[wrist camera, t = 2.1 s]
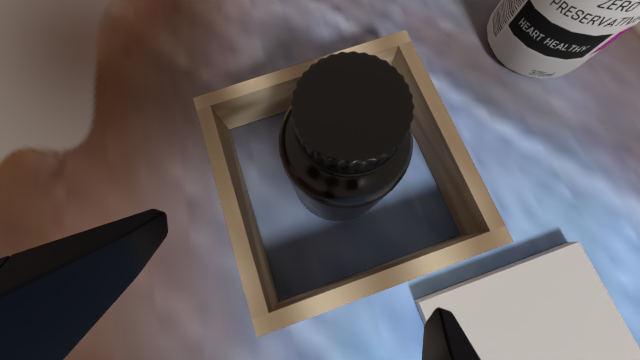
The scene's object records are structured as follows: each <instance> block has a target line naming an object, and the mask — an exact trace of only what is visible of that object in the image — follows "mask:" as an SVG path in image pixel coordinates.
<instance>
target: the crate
mask: <svg viewBox="0 0 640 360" xmlns="http://www.w3.org/2000/svg"><path fill="white" fill-rule="evenodd" d="M351 51H355V52H358V53H362V52H365V53H368V54H369V55H376V56H378V57H379V58H380V59H382V60H386V61H387V62H388V63H389V64H390V65H391V66H394V67H396V69H397V71H398V72H399V73H400V74H402V75H403V77H404V80H405V82H406V83H408V85H409V90H410V92H411V93H412V95H413V99H412V102H413V104H414V106H415V107H414V110H413V116H414V119H413V121H412V123H411V124H410V125H411V130H412V132H413V134H414V136H415V138H416V140H417V142H418V145H419V147H420V149H421V151H422V153H423V155H424V157H425V160H426V162H427V164H428V166H429V168H430V170H431V172H432V175H433V177H434V179H435V181H436V183H437V185H438V188H439V190H440V192H441V194H442V196H443V198H444V200H445V203H446V205H447V207H448V209H449V211H450V213H451V215H452V218H453V220H454V222H455V224H456V226H457V228H458V230H459V233H460V236H457V237H455V238H452V239H449V240H446V241H444V242H441V243H438V244H436V245H433V246H430V247H427V248H425V249H422V250H419V251H417V252H414V253H411V254H408V255H406V256H403V257H400V258H398V259H395V260H392V261H389V262H387V263H384V264H381V265H379V266H376V267H373V268H370V269H368V270H365V271H362V272H360V273H357V274H354V275H351V276H349V277H346V278H343V279H341V280H338V281H335V282H332V283H330V284H327V285H324V286H322V287H319V288H316V289H313V290H311V291H308V292H305V293H303V294H300V295H297V296H294V297H292V298H289V299H286V300H284V301H281V302H280V301H279V298H278V294H277V291H276V287H275V284H274V281H273V277H272V274H271V270H270V267H269V264H268V260H267V257H266V253H265V250H264V246H263V243H262V240H261V236H260V233H259V229H258V226H257V223H256V219H255V216H254V212H253V209H252V205H251V202H250V199H249V195H248V192H247V188H246V185H245V182H244V178H243V175H242V171H241V168H240V164H239V161H238V158H237V154H236V151H235V147H234V144H233V141H232V137H231V134H230V129H233V128H236V127H239V126H242V125H245V124H248V123H251V122H254V121H257V120H260V119H263V118H266V117H269V116H272V115H275V114H278V113H281V112H284V111H288V109H289V107H290V106H291V101H292V99H293V91H294V89H295V88H296V84H297V81H298V80H299V79H301V78H302V74H303V72H305V71H307V70H308V69H309V67H310V66H311V65H312V64H314V63H317V62H318V60H319V59H321V58H326V57H327V56H329V55H330V54H329V55H325V56H322V57H319V58H316V59H313V60H310V61H307V62H304V63H300V64H297V65H294V66H291V67H288V68H285V69H282V70H278V71H275V72H272V73H269V74H266V75H263V76H260V77H257V78H253V79H250V80H247V81H244V82H241V83H238V84H235V85H231V86H228V87H225V88H222V89H219V90H216V91H213V92H210V93H206V94H203V95H200V96H197V97H194V98H193V100H194V104H195V107H196V111H197V115H198V119H199V122H200V126H201V130H202V134H203V138H204V141H205V145H206V149H207V153H208V156H209V160H210V164H211V168H212V171H213V175H214V179H215V183H216V186H217V190H218V194H219V198H220V201H221V205H222V209H223V213H224V216H225V220H226V224H227V228H228V232H229V235H230V239H231V243H232V247H233V250H234V254H235V258H236V262H237V265H238V269H239V273H240V277H241V280H242V284H243V288H244V292H245V295H246V299H247V303H248V307H249V310H250V314H251V318H252V322H253V325H254V329H255V333H256V337H260V336H263V335H265V334H268V333H271V332H273V331H276V330H279V329H281V328H284V327H287V326H289V325H292V324H295V323H297V322H300V321H303V320H305V319H308V318H311V317H313V316H316V315H319V314H321V313H324V312H327V311H329V310H332V309H335V308H337V307H340V306H343V305H345V304H348V303H351V302H353V301H356V300H359V299H361V298H364V297H367V296H369V295H372V294H375V293H377V292H380V291H383V290H385V289H388V288H391V287H394V286H396V285H399V284H402V283H404V282H407V281H410V280H412V279H415V278H418V277H420V276H423V275H426V274H428V273H431V272H434V271H436V270H439V269H442V268H444V267H447V266H450V265H452V264H455V263H458V262H460V261H463V260H466V259H468V258H471V257H474V256H476V255H479V254H482V253H484V252H487V251H490V250H492V249H495V248H498V247H500V246H503V245H506V244H508V243H511V242H514V241H513V239H512V237H511V235H510V233H509V231H508V230H507V228H506V226H505V224H504V222H503V220H502V218H501V216H500V214H499V212H498V210H497V208H496V206H495V204H494V202H493V200H492V198H491V196H490V194H489V192H488V190H487V188H486V186H485V184H484V182H483V180H482V178H481V177H480V175H479V173H478V171H477V169H476V167H475V165H474V163H473V161H472V159H471V157H470V155H469V153H468V151H467V149H466V147H465V145H464V143H463V141H462V139H461V137H460V135H459V133H458V131H457V129H456V127H455V125H454V124H453V122H452V120H451V118H450V116H449V114H448V112H447V110H446V108H445V106H444V104H443V102H442V100H441V98H440V96H439V94H438V92H437V90H436V88H435V86H434V84H433V82H432V80H431V78H430V76H429V74H428V73H427V71H426V69H425V67H424V65H423V63H422V61H421V59H420V57H419V55H418V53H417V51H416V49H415V47H414V45H413V43H412V41H411V39H410V37H409V35H408V33H407V31H406V30H404V31H401V32H398V33H394V34H391V35H388V36H385V37H382V38H379V39H376V40H372V41H369V42H366V43H363V44H360V45H357V46H354V47H351V48H347V49H344V50H341V51H338V52H335V53H332V54H338V53H340V52H347V53H348V52H351Z"/></svg>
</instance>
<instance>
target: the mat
mask: <svg viewBox="0 0 640 360" xmlns="http://www.w3.org/2000/svg"><path fill="white" fill-rule="evenodd" d="M415 302H416V305H417V307H418V310H419V312H420V315H421V317H422V320H423V322H424V325H425V323H426V321H427V320H428V318H429V317H430V316H431V314H432V313H433V311H434V310H435V309H436V308H437V307H440V308H443V309H446V310H449V311H451V312H452V313H453V314H454V316H455V318H456V319H457V321H458V323H459V324H460V326H461V328H462V329H463V331H464V333H465V334H466V336H467V338H468V339H469V341H470V342H471V344H472V346H473V347H474V349H475V351H476V352H477V354H478V356H479V357H480V359H481V360H640V348H639V347H638V345H637V343H636V341H635V339H634V338H633V336H632V334H631V332H630V331H629V329H628V327H627V325H626V324H625V322H624V320H623V318H622V317H621V315H620V313H619V311H618V309H617V308H616V306H615V304H614V302H613V301H612V299H611V297H610V295H609V294H608V292H607V290H606V288H605V286H604V285H603V283H602V281H601V279H600V278H599V276H598V274H597V272H596V271H595V269H594V267H593V265H592V263H591V262H590V260H589V258H588V256H587V255H586V253H585V251H584V249H583V248H582V246H581V244H580V242H567V243H564V244H562V245H559V246H557V247H554V248H551V249H549V250H546V251H543V252H541V253H538V254H535V255H533V256H530V257H527V258H525V259H522V260H520V261H517V262H514V263H512V264H509V265H506V266H504V267H501V268H498V269H496V270H493V271H491V272H488V273H485V274H483V275H480V276H477V277H475V278H472V279H469V280H467V281H464V282H462V283H459V284H456V285H454V286H451V287H448V288H446V289H443V290H440V291H438V292H435V293H433V294H430V295H427V296H425V297H422V298H419V299H417V300H415Z"/></svg>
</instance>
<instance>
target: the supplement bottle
mask: <svg viewBox="0 0 640 360" xmlns="http://www.w3.org/2000/svg"><path fill="white" fill-rule="evenodd" d="M412 99H413V95H412V93H411V92H410V90H409V85H408V83H406V82H405V80H404V77H403V75H402V74H400V73H399V72H398V71H397V69H396V67H394V66H391V65H390V64H389V63H388V62H387V61H386V60H382V59H380V58H379V57H378V56H376V55H369V54H368V53H365V52H362V53H358V52H355V51H351V52H348V53H347V52H340V53H338V54H330V55H329V56H327V57H326V58H321V59H319V60H318V62H317V63H314V64H312V65H311V66H310V67H309V69H308V70H307V71H305V72H303V74H302V78H301V79H299V80H298V81H297V84H296V88H295V89H294V91H293V99H292V101H291V106H290V107H289V109H288V111H287V112H286V114H285V116H284V118H283V121H282V124H281V128H280V133H279V152H280V157H281V160H282V164H283V166H284V169H285V171H286V173H287V175H288V177H289V179H290V182H291V184H292V186H293V188H294V190H295V192H296V194H297V196H298V197H299V199H300V201H301V202H302V203H303V205H304V206H305V207H306V208H307V209H308V210H309V211H311V212H312V213H313V214H315V215H317V216H318V217H321V218H323V219H326V220H330V221H347V220H351V219H355V218H357V217H359V216H361V215H363V214H364V213H366V212H367V211H369V210H370V209H371V208H372V207H373V206H374V205H376V204H377V203H378V202H379V201H380V200H381V199H382V198H384V197H385V196H386V195H387V194H388V193H389V192H390V191H392V190H393V189H394V187H395V186H396V185H397V184H398V183H399V182H400V180H401V179H402V177H403V176H404V174H405V173H406V171H407V168H408V166H409V163H410V160H411V156H412V150H413V137H412V131H411V125H410V124H411V123H412V121H413V119H414V116H413V110H414V107H415V106H414V104H413V102H412Z"/></svg>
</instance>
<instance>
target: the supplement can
mask: <svg viewBox="0 0 640 360" xmlns="http://www.w3.org/2000/svg"><path fill="white" fill-rule="evenodd" d="M639 21H640V0H501V1H500V2H499V4H498V5H497V7H496V8H495V9H494V11H493V12H492V14H491V16H490V19H489V22H488V25H487V35H488V42H489V44H490V46H491V48H492V50H493V52H494V54H495V56H496V58H497V59H498V60H499V61H500V62H502V63H503V64H504V65H505V66H506V67H507V68H509V69H511V70H513V71H515V72H517V73H519V74H521V75H525V76H531V77H536V78H542V79H544V78H553V77H560V76H562V75H564V74H566V73H568V72H570V71H572V70H574V69H576V68H577V67H579V66H580V65H581V64H583V63H584V62H585V61H587V60H588V59H589V58H591V57H592V56H593V55H595V54H596V53H597V52H599V51H600V50H601V49H603V48H604V47H605V46H607V45H608V44H609V43H611V42H612V41H613V40H615V39H616V38H617V37H619V36H620V35H622V34H623V33H624V32H626V31H627V30H628V29H630V28H631V27H632V26H634V25H635V24H636V23H638V22H639Z"/></svg>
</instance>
